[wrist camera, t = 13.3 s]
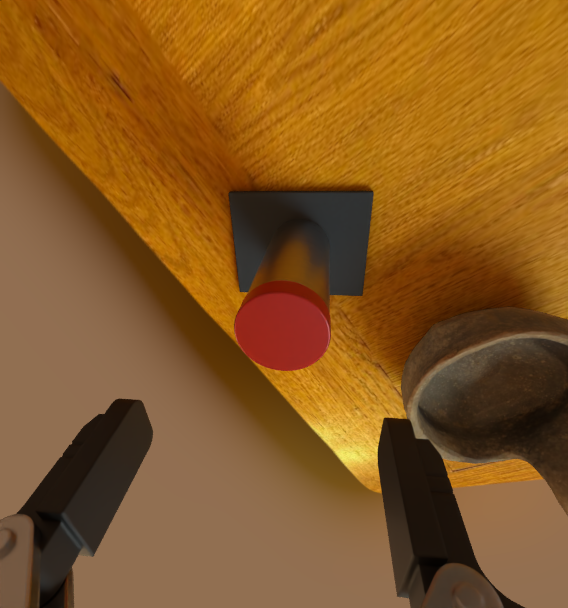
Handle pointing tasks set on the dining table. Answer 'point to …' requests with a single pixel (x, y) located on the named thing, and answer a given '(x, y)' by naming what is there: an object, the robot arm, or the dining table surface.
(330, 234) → the mat
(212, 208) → the dining table surface
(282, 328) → the jar
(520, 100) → the dining table surface
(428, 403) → the bowl
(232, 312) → the dining table surface
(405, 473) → the robot arm
